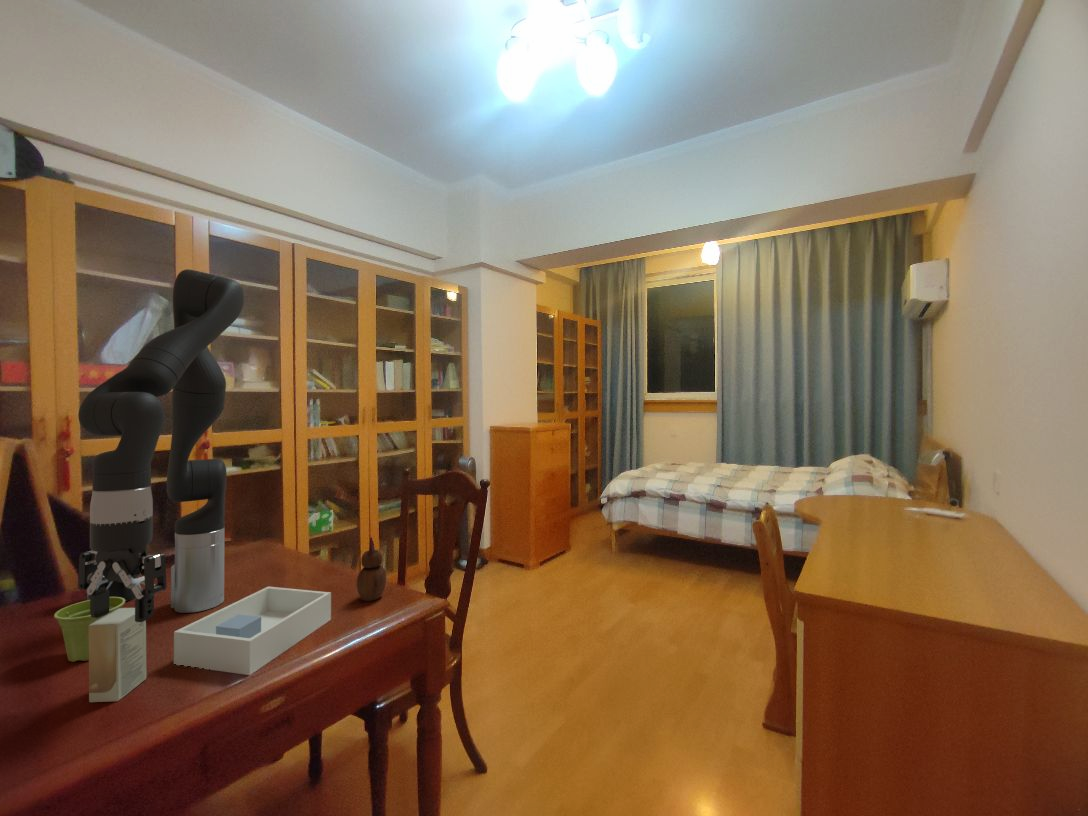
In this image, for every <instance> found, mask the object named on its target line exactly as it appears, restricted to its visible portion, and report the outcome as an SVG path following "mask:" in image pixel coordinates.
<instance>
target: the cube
mask: <svg viewBox="0 0 1088 816" xmlns="http://www.w3.org/2000/svg"><path fill="white" fill-rule="evenodd" d="M260 632H261V617H258V616H248V615H237V616H235V617H233V618H231V619H229V620H227V621H225V622H223V623H221V624H219V625H217V626H216V634H218V635H226V636H235V637H243V638H251V637H253V636H255V635H256V634H258V633H260Z"/></svg>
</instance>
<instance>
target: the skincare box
mask: <svg viewBox="0 0 1088 816" xmlns="http://www.w3.org/2000/svg"><path fill="white" fill-rule="evenodd" d="M146 621H147V620H146ZM146 621H143V622H136V621H135V607H122V608H119V609H117V610H115V611H113V612H111V613H109V614H108V615H106V616H104V617H102V618H100V619H99V620H97V621H95V622H93V623H92V624H90V625H89V660H88V702H89V703H99V702H100V703H103V702H104V703H107V702H108V703H110V702H119V701H120V700H121V699H123V698H124V697H125V696H126V695H128V694H130V692H132V691H133V690H134V689H135V688H137V687H138V686H139V685H140V684H141V683H143V682H144V681H145V680H147V622H146Z"/></svg>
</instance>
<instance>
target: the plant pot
mask: <svg viewBox="0 0 1088 816" xmlns="http://www.w3.org/2000/svg"><path fill="white" fill-rule="evenodd" d="M125 603H126V602H125V599H124V598H121V597H109V613H111V612H113V611H115V610H117V609H119V608H123V606H124V605H125ZM109 613H108V614H109ZM108 614H106V615H108ZM53 615H54V616H53V617H54V619H55V620H57V622H58V625H59V626H60V628H61V632H62V636H63V642H64V646H65V651H66V655H67V660H68V661H69V662H73V663H75V662H77V661H83V662H87V661H89V625H90V624H92V623H93V622H95V621H97V620H99V619H100V618H102V617H104V616H106V615H104V616H101V617H98V618H92V617H91V611H90V600H87V599H86V600H83V601H80V602H76V603H73V604H70V605H67V606H65V607H63V608H60V609H59V610H57V611H56V612H55V613H54V614H53Z"/></svg>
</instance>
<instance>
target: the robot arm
mask: <svg viewBox="0 0 1088 816" xmlns="http://www.w3.org/2000/svg"><path fill="white" fill-rule="evenodd" d="M173 283H174V284H173V290H172V315H173V329H170V330H168V331H166V332H162V333H161V334H159V335H157V336H156V337H154V338H152V339H151V340H149V341H148V342H147V343H146V344H145V345H144V346H143V347H142V348H141V349H140V350H139V352H138V353H137V354H136V355H135V357H133V359H132V360H131V361H130V362H129V364H128V365H127V366H126V367H125V368H124V369H123V370H120V371H118V372H117V373H115V374H114V375H113V376H111V377H110V378H108V379H107V380H105V381H104V382H102V383H101V384H100V385H98V386H97V387H95V388H94V389H92V391H90V392H89V393H88V394H87V395H86V396H85V398H84V399H83V401H81V404H80V406H79V409H78V413H77V415H78V416H77V417H78V421H79V424H80V426H81V427H82V428H83V429H84V431H86V432H87V433H89V434H92V435H94V436H95V435H96V436H101V437H102V436H104V437H105V436H108V437H109V436H110V437H111V436H112V437H113V436H115V437H117V436H119V437H120V439H119V442H118V444H117V446H116V448H115V449H114V450H109V451H104V452H101V453H99V454H97V455H96V456H95V457H94V459H93V461H92V471H91V472H92V481H91V482H92V486H91V487H92V488H91V489H92V491H91V492H92V493H91V499H90V505H89V549H90V550H89V551H85V552H81V553H80V554H79V556H78V557H79V558H78V572H77V573H78V577H77V588H78V590H79V591H83V590H85V591H86V594H87V593H88V595H90V611H91V617H92V618H98V617H101V616H104V615H106V614H108V613H109V590H107V589H108V588H109V587H110V585H111V584H112V582H113V581H118V582H122V583H124V584H125V586H126V587H127V588H130V589H132V591H133V593H134V594H135V596H136V597H135V598H134V608H135V621H136V622H143V621H148V620H150V619H152V617H153V615H154V612H155V609H154V608H155V607H154V606H155V595H156V594H157V593H160V592H163V591H166V590H167V570H166V569H167V566H166V554H165V553H164V552H159V553H156V554H149V553H148V549H147V548H148V546H149V544H150V543H151V542H152V541H153V536H154V535H153V533H154V531H153V530H154V529H153V528H154V523H153V522H154V521H153V520H154V514H153V513H154V511H153V510H154V499H153V493H152V467H151V465H152V464H151V463H152V460H153V456H154V453H155V451H156V448H157V445H158V441H159V439H160V437H161V433H162V430H163V426H164V423H165V409H164V407H163V403H162V402H161V401H160V400H159V398H158V397H162V396H165V395H167V394H169V393H170V392H171V391H172V392H171V393H172V394H171V395H172V397H171V398H172V399H171V406H172V407H171V410H172V411H171V417H172V418H171V422H172V423H171V442H170V449H169V458H168V465H167V472H166V474H167V476H166V494H167V496H168V499H169V500H170V501H171V502H174V503H183V502H195V501H205V500H207V501H206V503H204V505H203V506H201V507H200V508H198V509H197V510H194V511H193V512H191V513H188V514H186V515H185V514H184V515H183V516H181V517H179V518H178V519H177V520H176V521H175V523H174V564H172V566H171V567H170V609H174V611H175V612H176V613H182V614H186V613H187V614H188V613H189V614H190V613H197V612H202V611H206V610H210V609H212V608H213V609H214V608H215V607H218V606H220V605H221V604H222V603H223V602H224V600H225V525H226V524H225V518H226V517H225V516H226V515H225V513H226V511H225V510H226V509H225V508H226V506H225V505H226V493H227V492H226V491H227V466H226V464H225V462H224V461H223V460H222V459H219V458H207V459H206V458H204V459H191V460H190V459H189V458H190V456H191V454H192V452H193V449H194V447H195V446H196V444H197V442H199V440H200V439H201V437H203V435H204V434H205V433H206V432H207V431H208V430H209V429H210V428H211V426H212V425H214V423H216V421H217V420H218V419H219V417H220V416H221V415H222V413H223V412H224V409H225V405H226V404H225V403H226V389H227V382H226V381H227V380H226V377H225V375H224V372H223V370H222V368H221V366H220V365H219V363H218V361H217V360H216V358H215V357H214V356H213V354H212V352H211V350H210V348H209V347H208V346H209V345H211V344H212V343H213V342H214V341H215V340H216V339H217V338H219V337H220V336H221V335H222V334H223V332H225V331H226V330H227V329H228V328H229V327H230V326H232V324H233V323H235V321H236V320H237V318H238V317H239V316H240V314H241V312H242V310H243V309H244V305H245V304H244V303H245V292H244V288H243V286H242V285H241V283H239V282H238V281H237V280H235V279H232V278H229V277H225V276H222V275H218V274H217V275H216V274H211V273H207V272H204V271H200V270H194V269H183V270H181V271H180V272H178V274H177V276H176V278H175V279H174V282H173ZM90 573H92V578H91V579H90V580H87V577H88V576H89V574H90ZM140 574H141V576H140ZM137 577H138V578H137ZM155 579H156V580H157V581H156V582H157V584H155ZM141 585H144V588H142V586H141Z"/></svg>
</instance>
